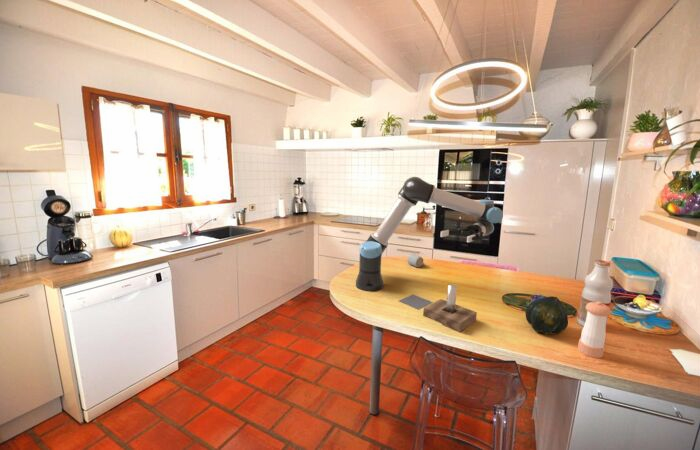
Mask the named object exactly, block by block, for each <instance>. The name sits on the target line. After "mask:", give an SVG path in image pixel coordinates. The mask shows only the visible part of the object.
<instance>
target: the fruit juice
mask: <svg viewBox="0 0 700 450" xmlns="http://www.w3.org/2000/svg"><path fill="white" fill-rule="evenodd" d="M593 264H594V267H593V269H592V270H591V272H590V273H589V274H587V275H586V276H585V278H584V288H583V289H582V292H581V296H580V302H579V308H578V314H577V324H578V325H581V327H582V328H583V327H584V325H585V322H586V317H587V312H588V311H587V310H586V305H587V304H588V303H590V302H601V303H602V304H604V305H606V306H608V307H609V308H610V306H611V302H612V294H611V291H612V290H613V287H614V281H613V279H612V278H611V277H610V274H609V268H610V266H611V262H610V261H606V260H601V259H595V260H594V263H593ZM608 317H609V316H607V319H608ZM607 322H608V320H607V321H606V324H607Z"/></svg>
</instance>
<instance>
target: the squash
mask: <svg viewBox="0 0 700 450" xmlns="http://www.w3.org/2000/svg"><path fill="white" fill-rule="evenodd" d="M525 309H526V310H525V312H524V313H525V319H526V321H527V323H528V324H529V325H530V326H531V328H532V329H533V331H535V332H537V333H540V332H542V333H543V334H545V335H550V334H553V335H557V334H558V335H559V334H561V332H564V331H565V330H566V329H567V327H568V325H569V317H568V316H569V315H568V313H567V310H566V308H565V307H564V306H563V304H562V302H561V300H560V299H559V298H558V297H557V296H545V298H541V299H538V300H535V301H533V302H531V303H530V304H529V305H528V306H526V308H525Z"/></svg>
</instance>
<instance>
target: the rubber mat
mask: <svg viewBox="0 0 700 450" xmlns="http://www.w3.org/2000/svg"><path fill="white" fill-rule="evenodd" d="M398 302H399V303H402V304H403V305H406V306H408V307H410V308H411V307H412V309H415V310H419V311H420V310H422V309H424V307H426V306H428V305H430V304H432V303H434V302H433V301H431V300H428V299H427V298H426V299H425V298H423V297H420V296H418V295H416V294H411V295H409V296H406V297H403V298H401V299H399V300H398Z"/></svg>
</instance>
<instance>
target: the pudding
mask: <svg viewBox="0 0 700 450" xmlns="http://www.w3.org/2000/svg"><path fill="white" fill-rule="evenodd" d="M545 297H546V296H545V295H541V294H534V295H533V296H532V299H531V302H533V301H535V300H538V299H541V298H545Z"/></svg>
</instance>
